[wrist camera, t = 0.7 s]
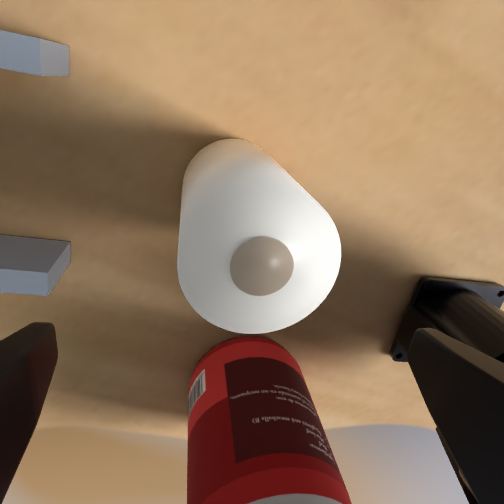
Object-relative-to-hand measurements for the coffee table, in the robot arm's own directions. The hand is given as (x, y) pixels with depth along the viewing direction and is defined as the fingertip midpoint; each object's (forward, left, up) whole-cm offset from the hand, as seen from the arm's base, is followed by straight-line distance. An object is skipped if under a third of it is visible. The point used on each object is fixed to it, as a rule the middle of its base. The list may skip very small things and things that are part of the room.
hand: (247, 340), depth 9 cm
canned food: (-4, +12, -12) cm, 18 cm away
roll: (-1, -1, -12) cm, 12 cm away
